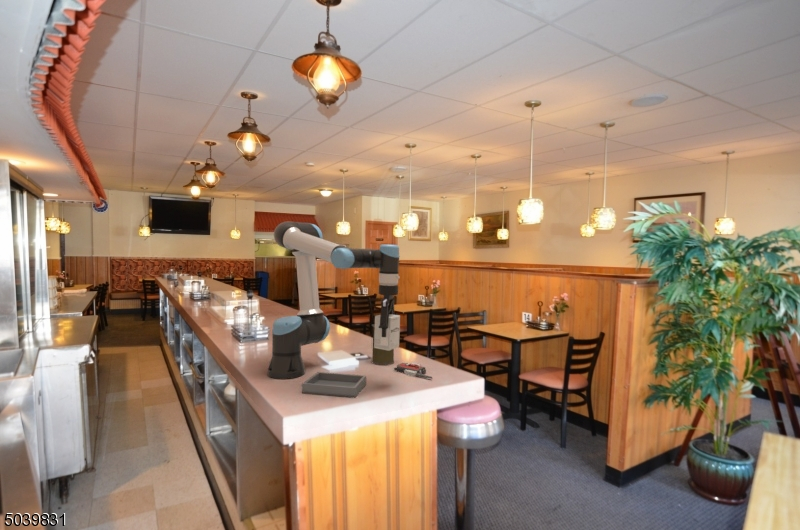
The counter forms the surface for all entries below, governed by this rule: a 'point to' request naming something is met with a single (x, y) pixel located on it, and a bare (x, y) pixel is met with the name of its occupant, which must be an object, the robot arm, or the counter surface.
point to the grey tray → (334, 384)
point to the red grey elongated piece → (412, 370)
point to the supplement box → (392, 332)
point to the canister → (381, 354)
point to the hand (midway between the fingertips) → (386, 342)
